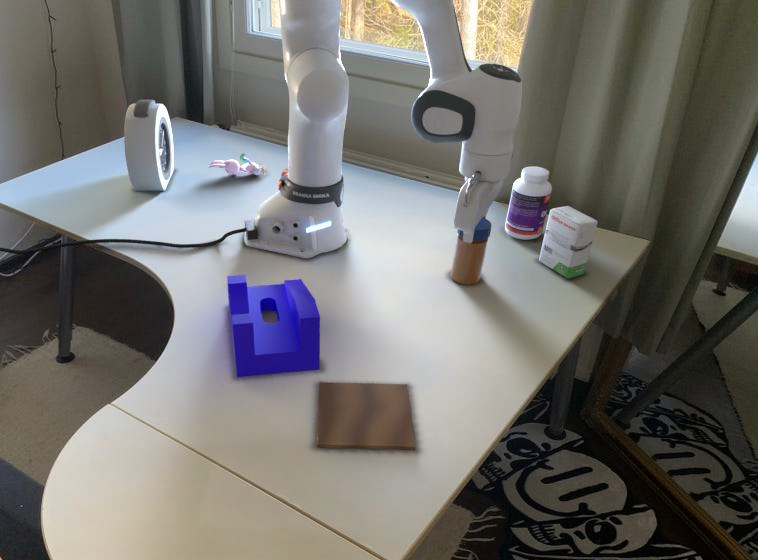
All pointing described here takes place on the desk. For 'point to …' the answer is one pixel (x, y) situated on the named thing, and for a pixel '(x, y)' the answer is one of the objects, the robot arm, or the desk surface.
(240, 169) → the rabbit figure
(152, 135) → the alarm clock
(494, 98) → the robot arm
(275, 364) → the bracket
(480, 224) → the lid
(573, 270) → the ink box
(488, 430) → the desk surface
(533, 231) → the pill bottle
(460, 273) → the jar
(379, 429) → the coaster
